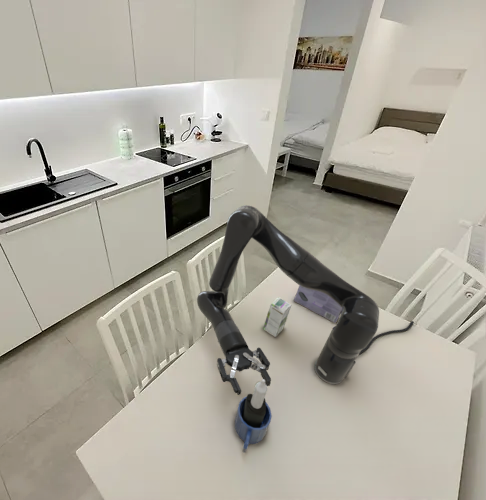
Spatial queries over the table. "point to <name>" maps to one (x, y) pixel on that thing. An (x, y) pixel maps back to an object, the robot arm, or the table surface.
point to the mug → (248, 432)
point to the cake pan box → (318, 303)
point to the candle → (255, 406)
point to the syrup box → (277, 316)
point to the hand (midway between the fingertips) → (254, 388)
